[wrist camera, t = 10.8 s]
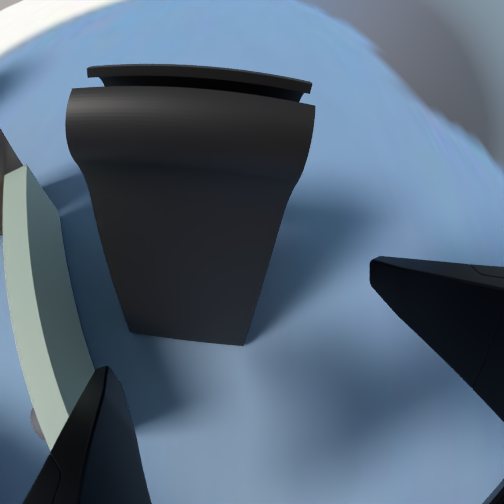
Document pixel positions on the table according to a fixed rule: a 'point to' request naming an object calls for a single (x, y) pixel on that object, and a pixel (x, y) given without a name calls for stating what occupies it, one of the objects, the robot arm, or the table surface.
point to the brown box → (6, 168)
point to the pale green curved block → (42, 304)
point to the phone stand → (189, 188)
